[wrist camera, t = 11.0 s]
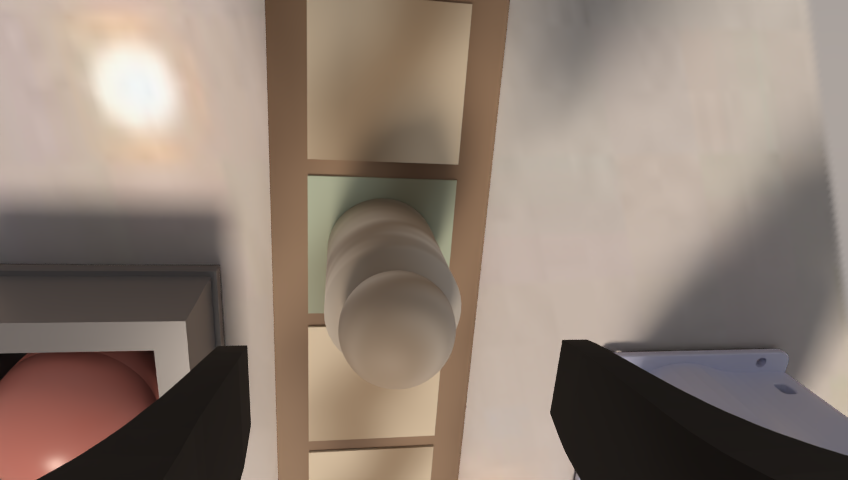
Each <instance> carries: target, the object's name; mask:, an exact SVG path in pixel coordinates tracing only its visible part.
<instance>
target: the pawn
mask: <svg viewBox="0 0 848 480" xmlns="http://www.w3.org/2000/svg"><path fill="white" fill-rule="evenodd" d="M460 314H461V296H460V292H459V288H458V286H457V283H456V281H455V279H454V277H453V275H452V273H451V271H450V269H449V267H448V264H447V262H446V260H445V258H444V256H443V254H442V252H441V250H440V248H439V246H438V244H437V242H436V240H435V238H434V235H433V233H432V231H431V229H430V227H429V225H428V223H427V222H426V220H425V219H424V218H423V216H422V215H421V214H420V213H419V212H418V211H417V210H415V209H414V208H413V207H411V206H409V205H407V204H406V203H403V202H401V201H398V200H393V199H386V198H379V199H371V200H367V201H363V202H361V203H359V204H356V205H355V206H353V207H351V208H350V209H348V210H347V211H346V212H345V213H344V214H343V215H342V216H341V217H340V218H339V219H338V220H337V222H336V223H335V225H334V227H333V228H332V231H331V233H330V236H329V240H328V250H327V267H326V285H325V302H324V320H325V325H326V329H327V331H328V334H329V336H330V338H331V340H332V342H333V343H334V344H335V346H336V347H337V348H338V350H339V351H341V352H342V353H343V355H344V357H345V359H346V361H347V363H348V364H349V365H350V367H351V368H352V369H353V370H354V371H355V372H356V373H357V374H358V375H359V376H360V377H361V378H363V379H364V380H366V381H367V382H369V383H371V384H373V385H375V386H378V387H382V388H386V389H407V388H412V387H415V386H418V385H420V384H422V383H424V382H426V381H428V380H429V379H430V378H432V377H433V376H435V375H436V374H437V373H438V372H439V371H440V370H441V368H442V367H443V366H444V365H445V363H446V362H447V360H448V358H449V356H450V354H451V352H452V349H453V346H454V342H455V336H456V328H457V326H458V323H459V320H460Z"/></svg>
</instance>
